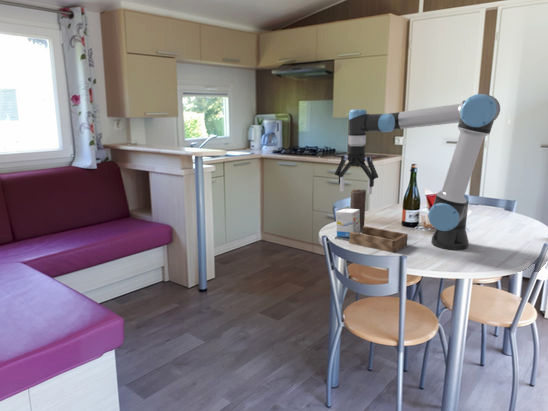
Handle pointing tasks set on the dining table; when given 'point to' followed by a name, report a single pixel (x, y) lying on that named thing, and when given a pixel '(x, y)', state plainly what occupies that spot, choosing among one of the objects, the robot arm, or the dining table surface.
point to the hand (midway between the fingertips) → (355, 192)
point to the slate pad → (343, 238)
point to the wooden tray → (379, 239)
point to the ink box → (347, 222)
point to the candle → (359, 204)
